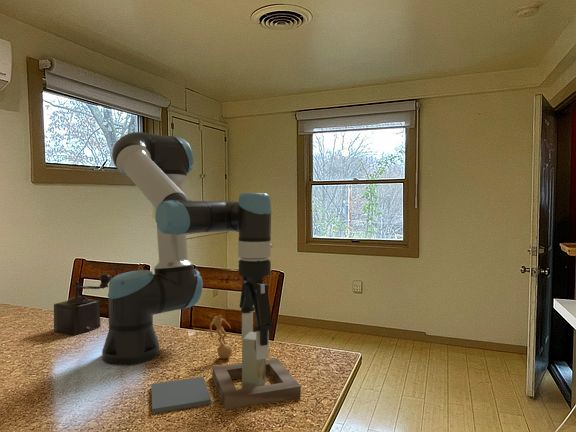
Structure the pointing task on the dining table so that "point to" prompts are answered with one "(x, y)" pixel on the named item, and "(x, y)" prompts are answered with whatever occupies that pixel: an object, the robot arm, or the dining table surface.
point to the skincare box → (252, 363)
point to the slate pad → (179, 394)
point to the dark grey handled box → (79, 311)
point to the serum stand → (254, 395)
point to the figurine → (223, 349)
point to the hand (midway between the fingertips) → (254, 348)
